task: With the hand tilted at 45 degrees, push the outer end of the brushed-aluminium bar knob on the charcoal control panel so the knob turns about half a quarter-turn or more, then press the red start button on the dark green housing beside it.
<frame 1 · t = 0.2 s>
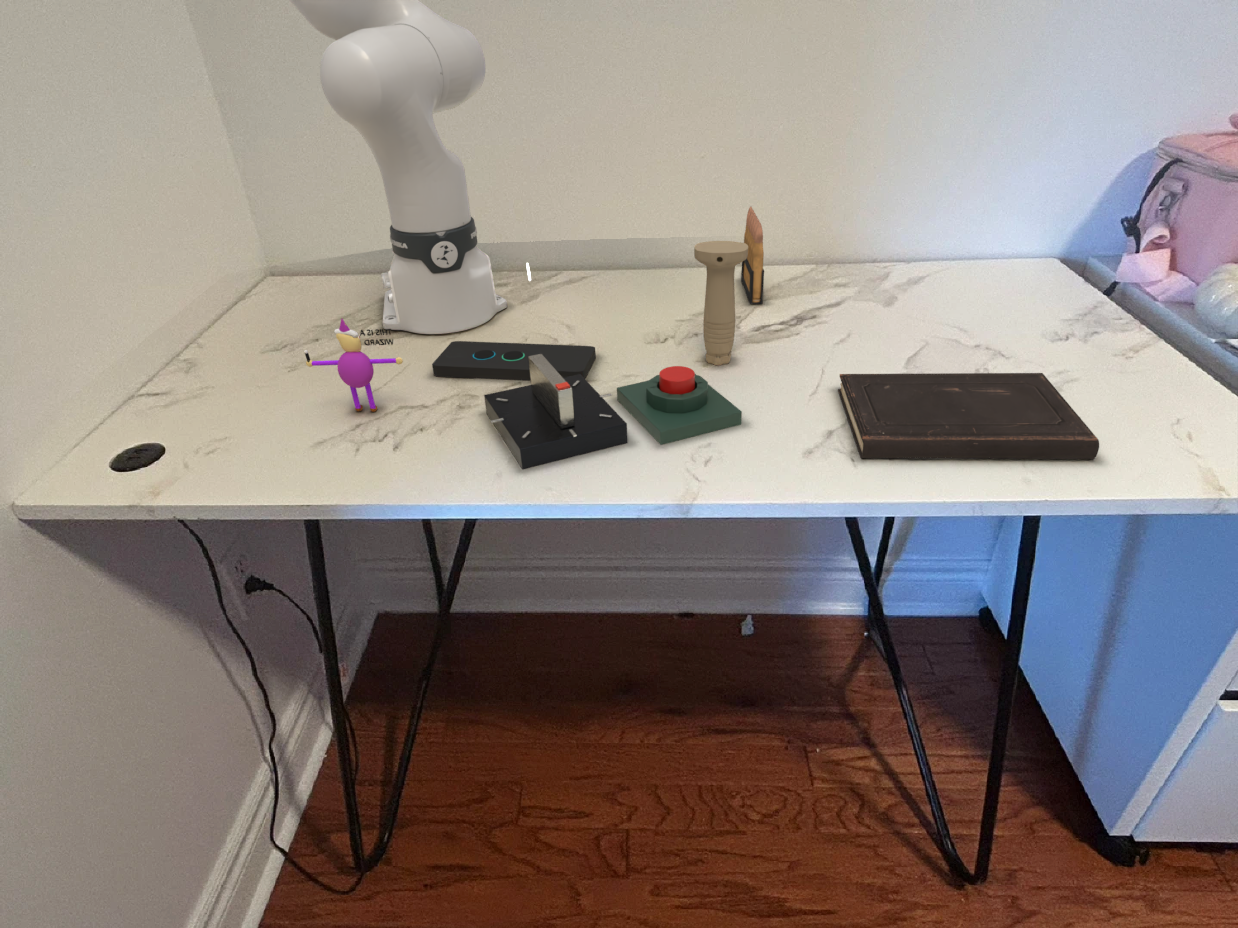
knob: (550, 389, 91), point 5 cm above the table, hinge at 0.0°
ammunition clip: (751, 293, 128), on the table
smart home device: (515, 368, 108), on the table
button: (677, 380, 93), point 4 cm above the table, slide at 0.1 cm
handle: (718, 362, 107), on the table
hardcover book: (955, 425, 91), on the table
button box: (677, 412, 95), on the table
wizard figurine: (365, 414, 98), on the table
control panel: (554, 428, 93), on the table
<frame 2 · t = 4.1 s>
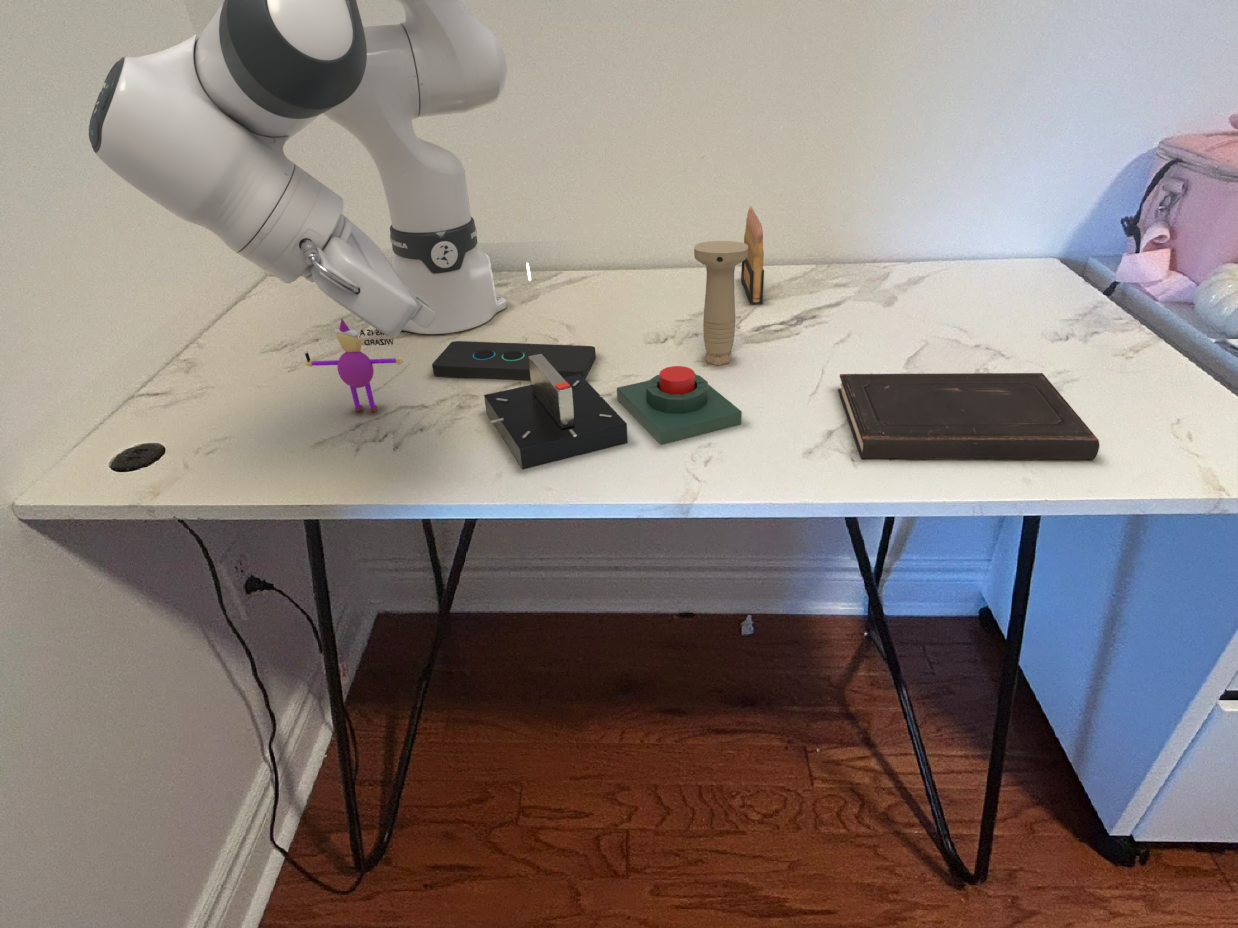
hand: (429, 317, 78), 17 cm above the table, tool tilted 45°, fingers closed
nothing on the table moved.
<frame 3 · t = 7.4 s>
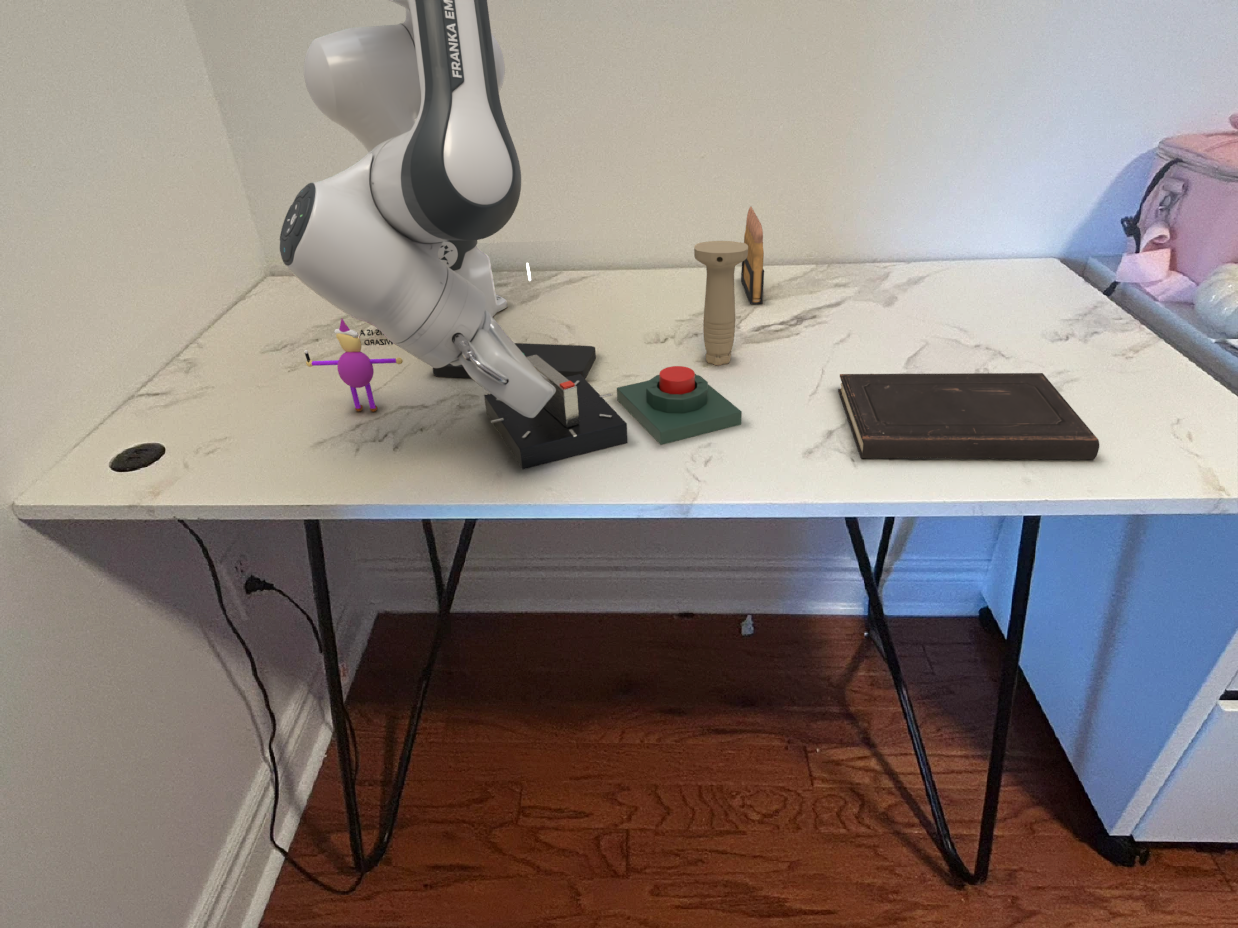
hand: (548, 390, 87), 6 cm above the table, tool tilted 45°, fingers closed
knob: (550, 389, 91), point 5 cm above the table, hinge at 7.0°, touching gripper
everything else where it was.
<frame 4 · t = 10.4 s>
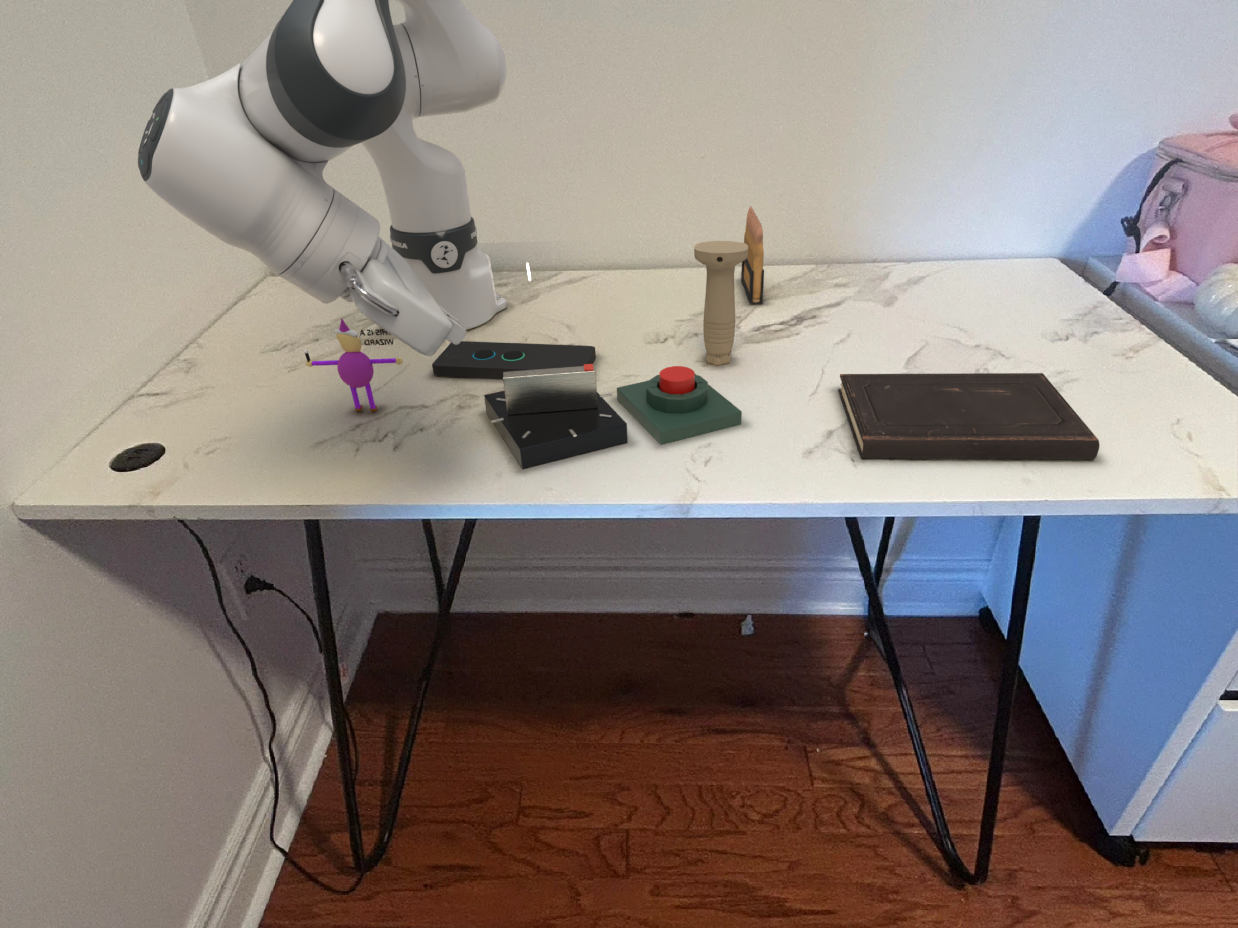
hand: (459, 334, 80), 14 cm above the table, tool tilted 45°, fingers closed
knob: (550, 389, 91), point 5 cm above the table, hinge at 71.8°
everything else where it was.
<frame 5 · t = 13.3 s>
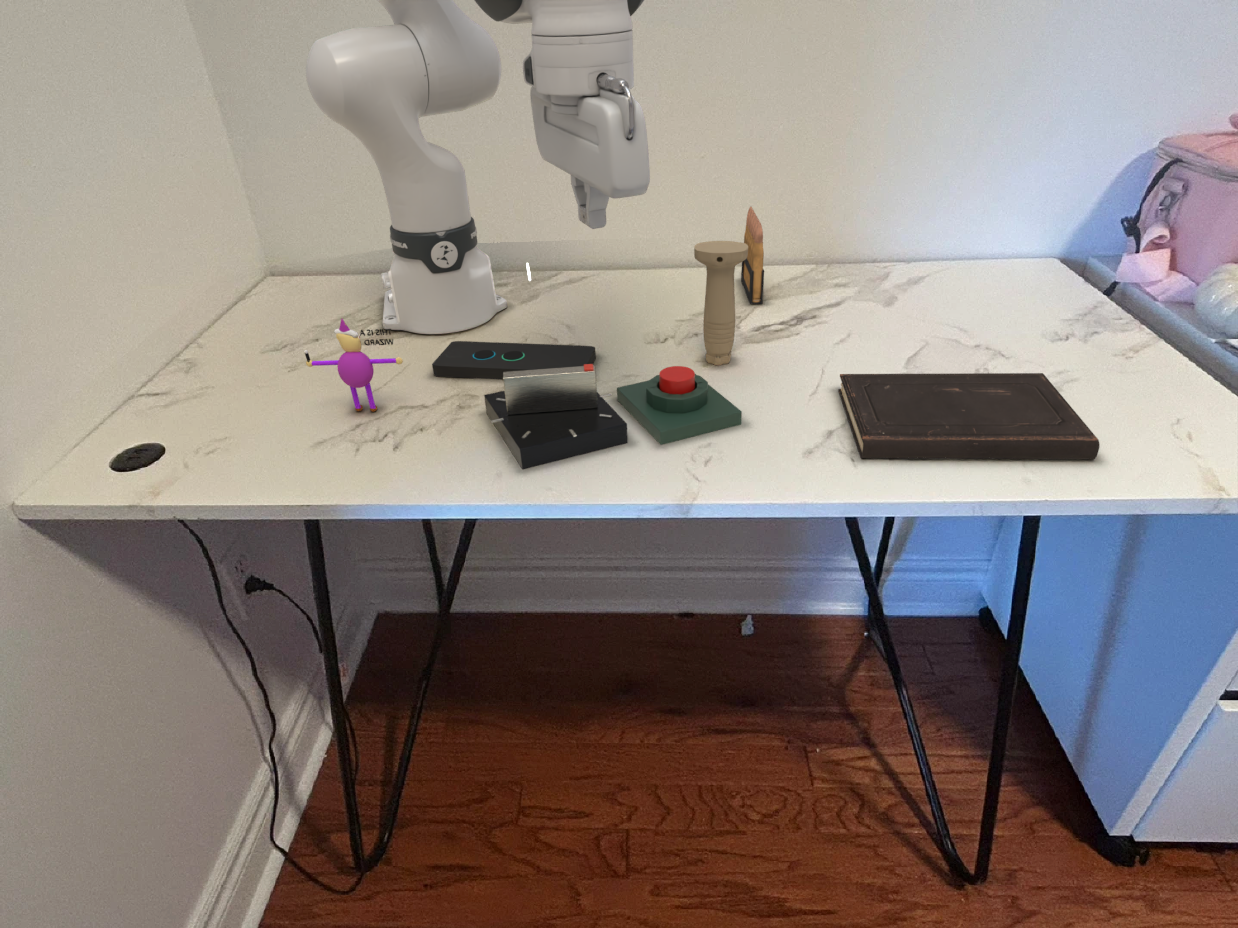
hand: (592, 224, 81), 23 cm above the table, tool pointing down, fingers closed
nothing on the table moved.
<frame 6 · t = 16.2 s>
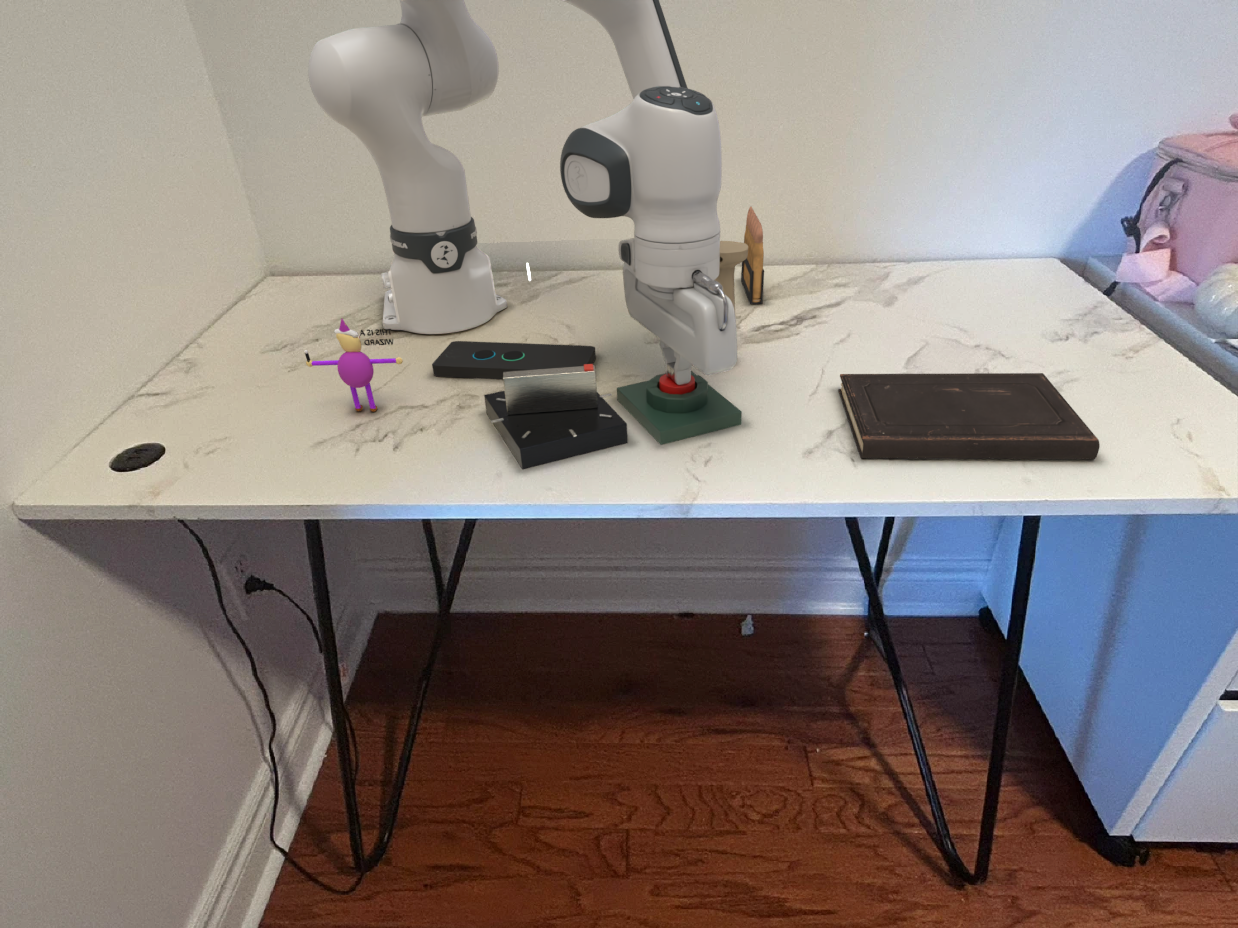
hand: (677, 379, 93), 4 cm above the table, tool pointing down, fingers closed, pressing on button
button: (677, 386, 94), point 3 cm above the table, slide at -0.6 cm, touching gripper
everything else where it was.
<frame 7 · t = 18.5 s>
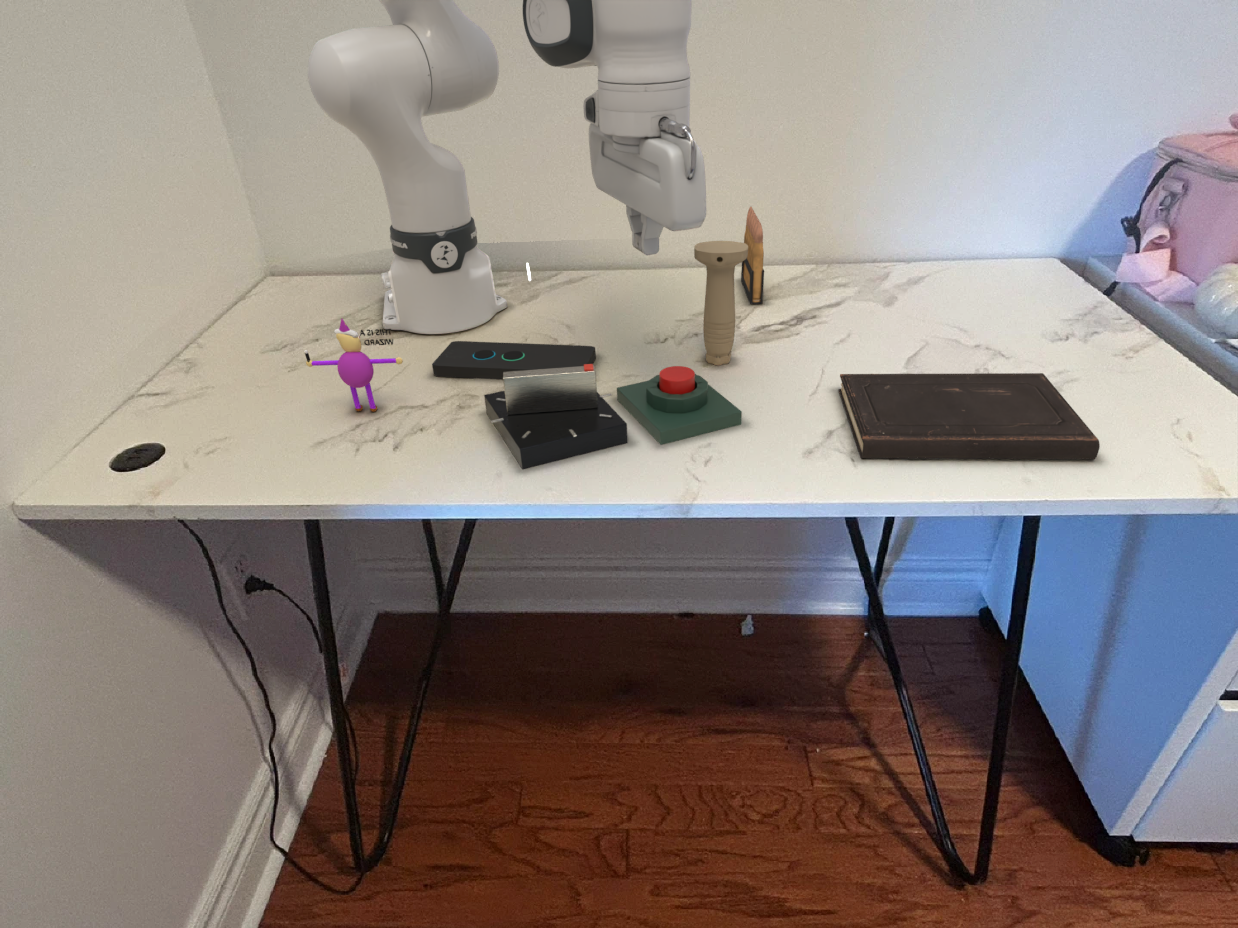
hand: (645, 251, 87), 18 cm above the table, tool pointing down, fingers closed
button: (677, 380, 93), point 4 cm above the table, slide at 0.1 cm
everything else where it was.
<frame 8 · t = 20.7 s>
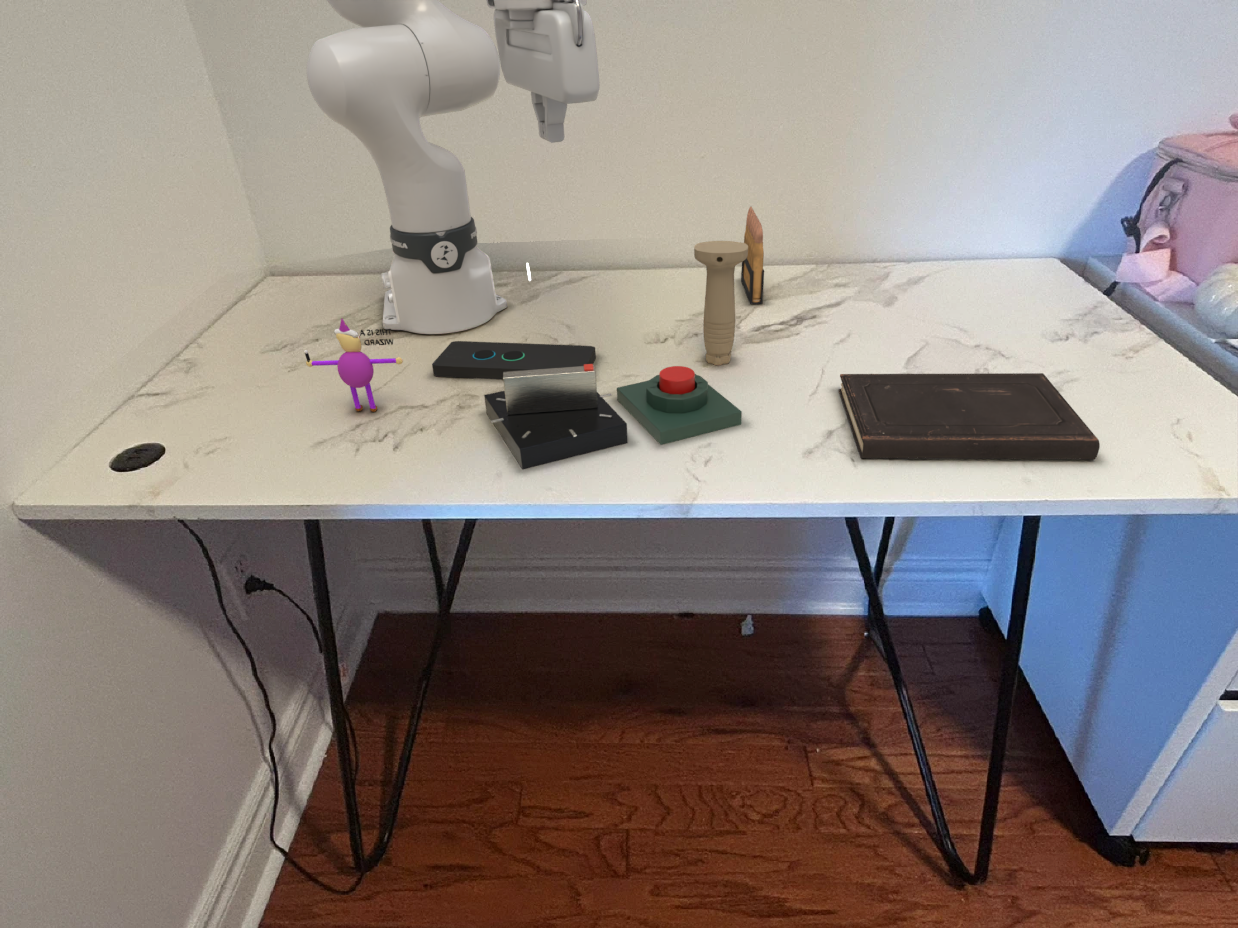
hand: (552, 140, 86), 29 cm above the table, tool pointing down, fingers closed
nothing on the table moved.
at the end: knob at +72° (first picture: +0°); button pushed in 1.1 cm at the most during the clip, back to where it started at the end; button slide at 0.1 cm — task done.
